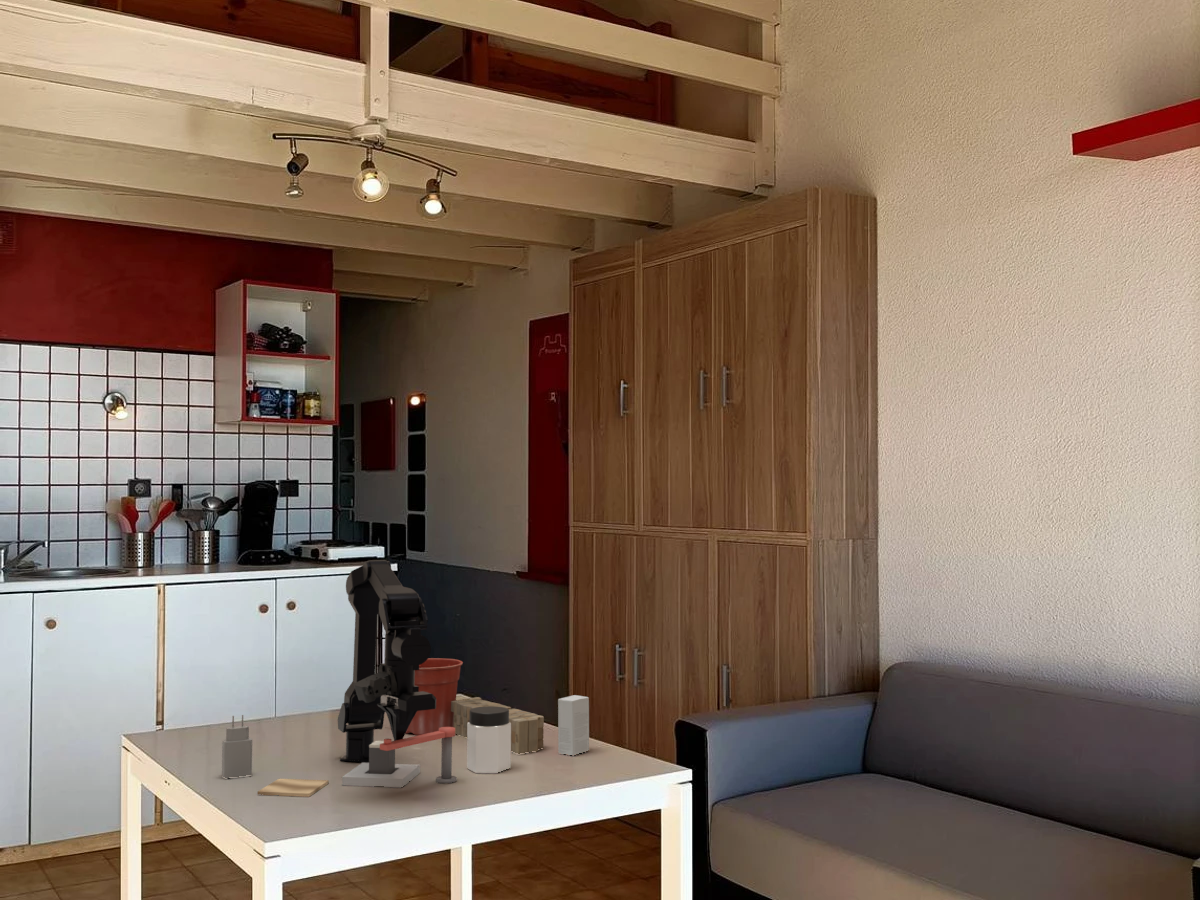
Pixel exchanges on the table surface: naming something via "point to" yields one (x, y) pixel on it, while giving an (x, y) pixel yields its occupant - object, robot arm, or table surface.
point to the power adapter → (237, 751)
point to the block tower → (523, 723)
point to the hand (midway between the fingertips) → (397, 742)
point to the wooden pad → (293, 787)
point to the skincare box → (573, 725)
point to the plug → (381, 759)
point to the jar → (488, 740)
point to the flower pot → (436, 694)
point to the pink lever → (417, 739)
